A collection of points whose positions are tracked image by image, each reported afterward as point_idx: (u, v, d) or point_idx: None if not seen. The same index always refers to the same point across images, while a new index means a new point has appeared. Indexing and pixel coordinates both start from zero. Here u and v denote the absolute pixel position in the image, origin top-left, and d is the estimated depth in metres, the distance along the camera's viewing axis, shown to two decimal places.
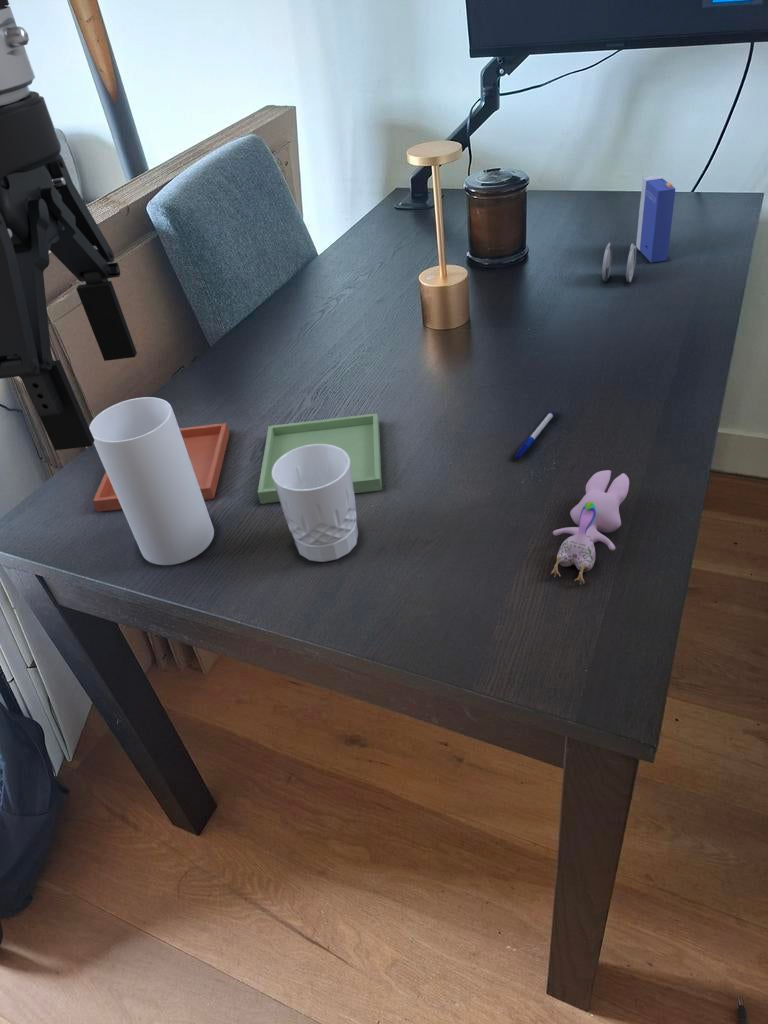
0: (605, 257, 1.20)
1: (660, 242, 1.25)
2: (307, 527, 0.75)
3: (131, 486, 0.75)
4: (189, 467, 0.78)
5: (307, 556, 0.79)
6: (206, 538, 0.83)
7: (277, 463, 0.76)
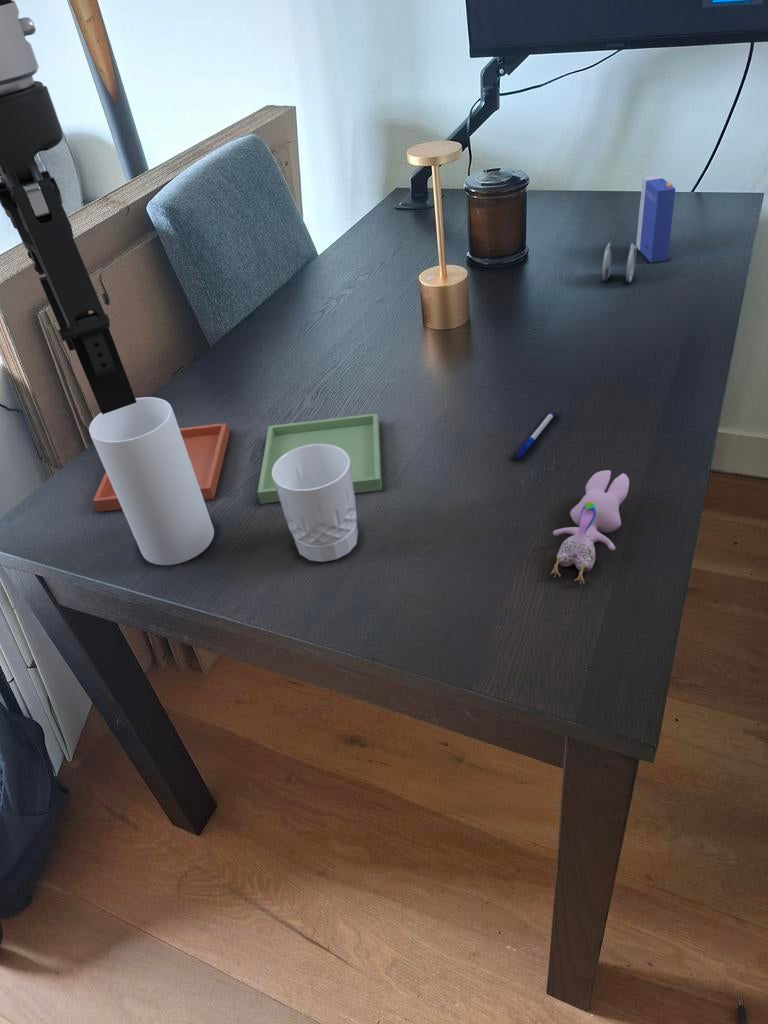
0: (605, 257, 1.20)
1: (660, 242, 1.25)
2: (307, 527, 0.75)
3: (131, 486, 0.75)
4: (189, 467, 0.78)
5: (307, 556, 0.79)
6: (206, 538, 0.83)
7: (277, 463, 0.76)
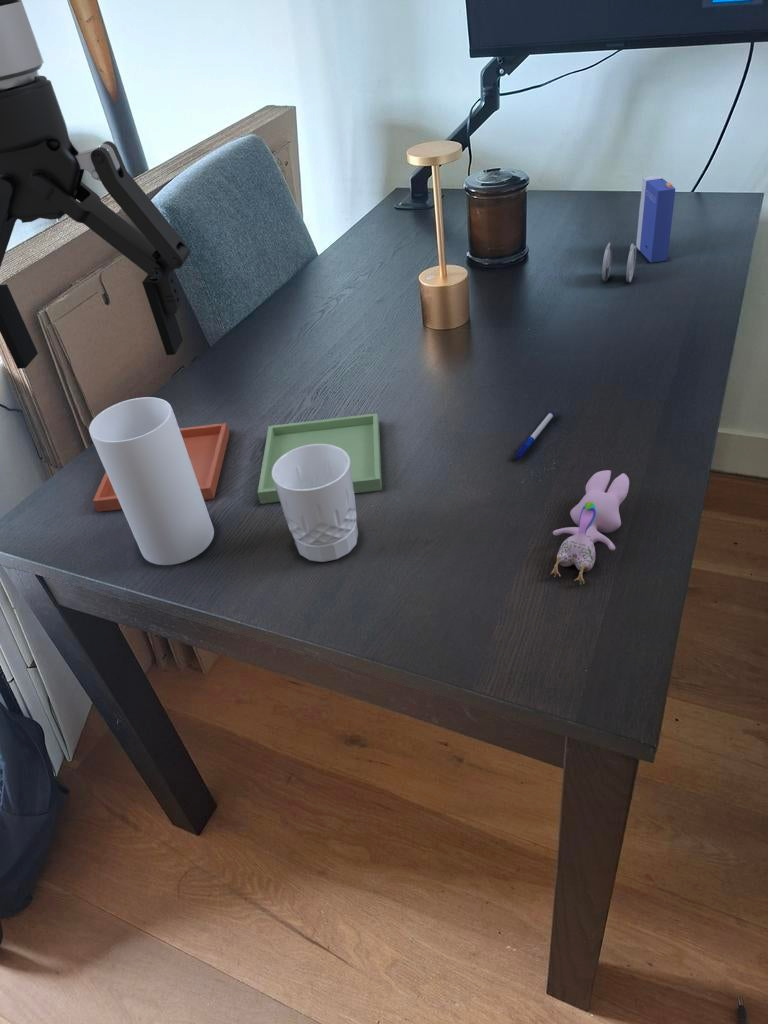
0: (605, 257, 1.20)
1: (660, 242, 1.25)
2: (307, 527, 0.75)
3: (131, 486, 0.75)
4: (189, 467, 0.78)
5: (307, 556, 0.79)
6: (206, 538, 0.83)
7: (277, 463, 0.76)
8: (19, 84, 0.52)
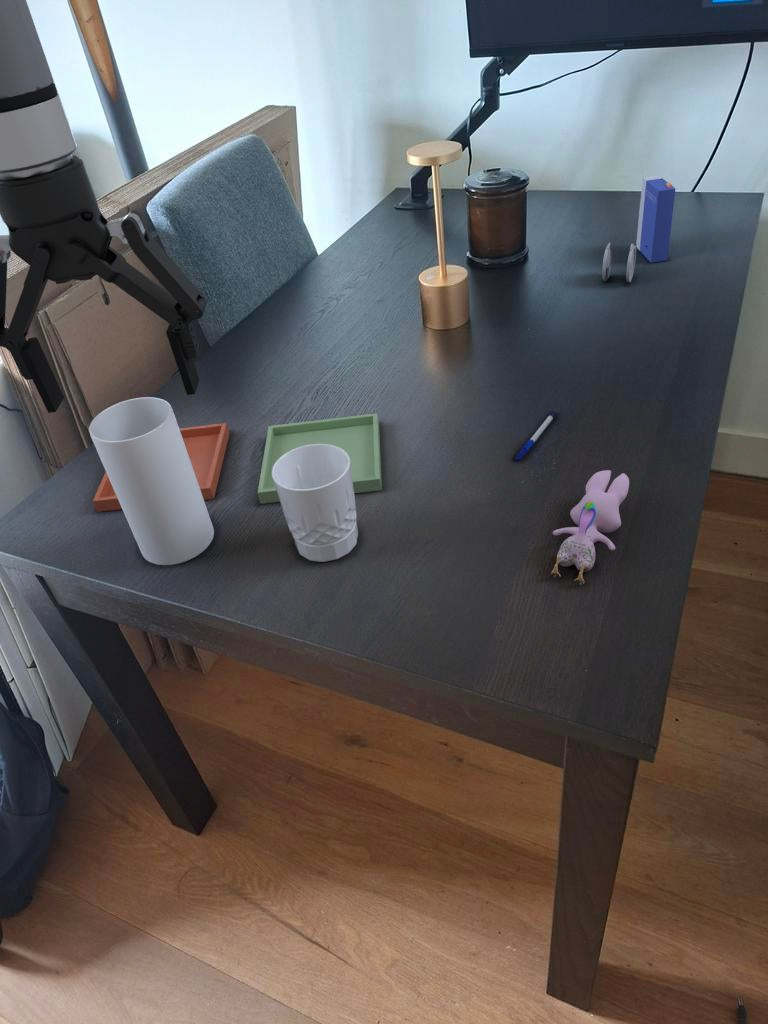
0: (605, 257, 1.20)
1: (660, 242, 1.25)
2: (307, 527, 0.75)
3: (131, 486, 0.75)
4: (189, 467, 0.78)
5: (307, 556, 0.79)
6: (206, 538, 0.83)
7: (277, 463, 0.76)
8: (59, 166, 0.58)
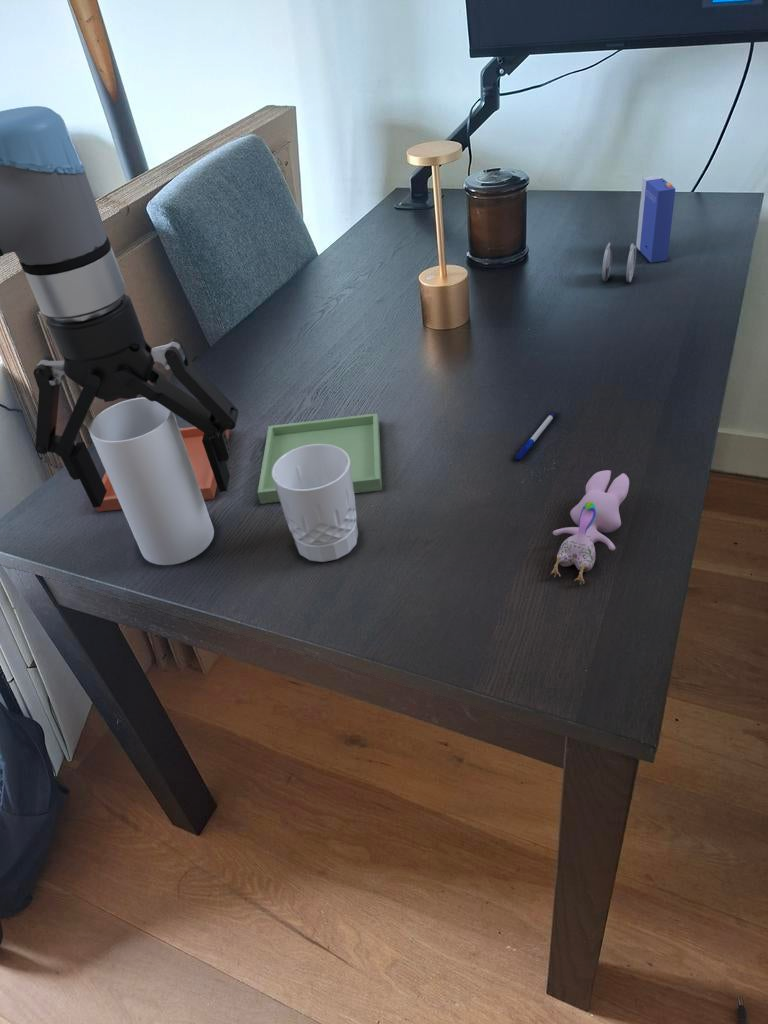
0: (605, 257, 1.20)
1: (660, 242, 1.25)
2: (307, 527, 0.75)
3: (131, 486, 0.75)
4: (189, 467, 0.78)
5: (307, 556, 0.79)
6: (206, 538, 0.83)
7: (277, 463, 0.76)
8: (111, 309, 0.66)
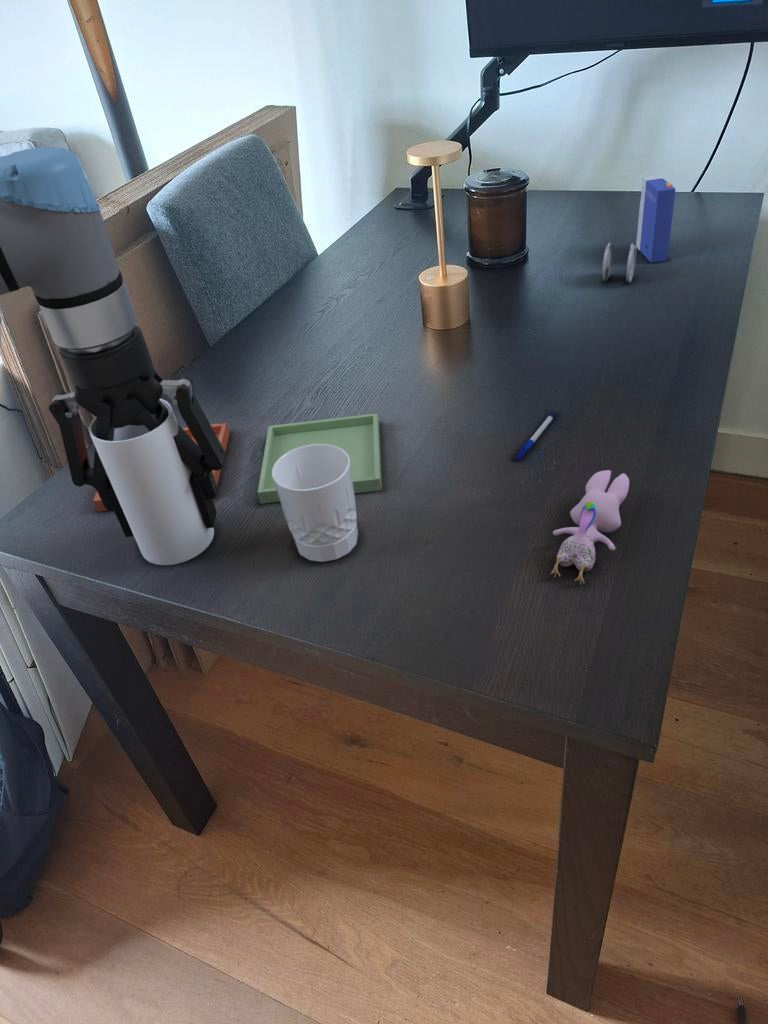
0: (605, 257, 1.20)
1: (660, 242, 1.25)
2: (307, 527, 0.75)
3: (131, 486, 0.75)
4: None
5: (307, 556, 0.79)
6: (206, 538, 0.83)
7: (277, 463, 0.76)
8: (122, 341, 0.68)
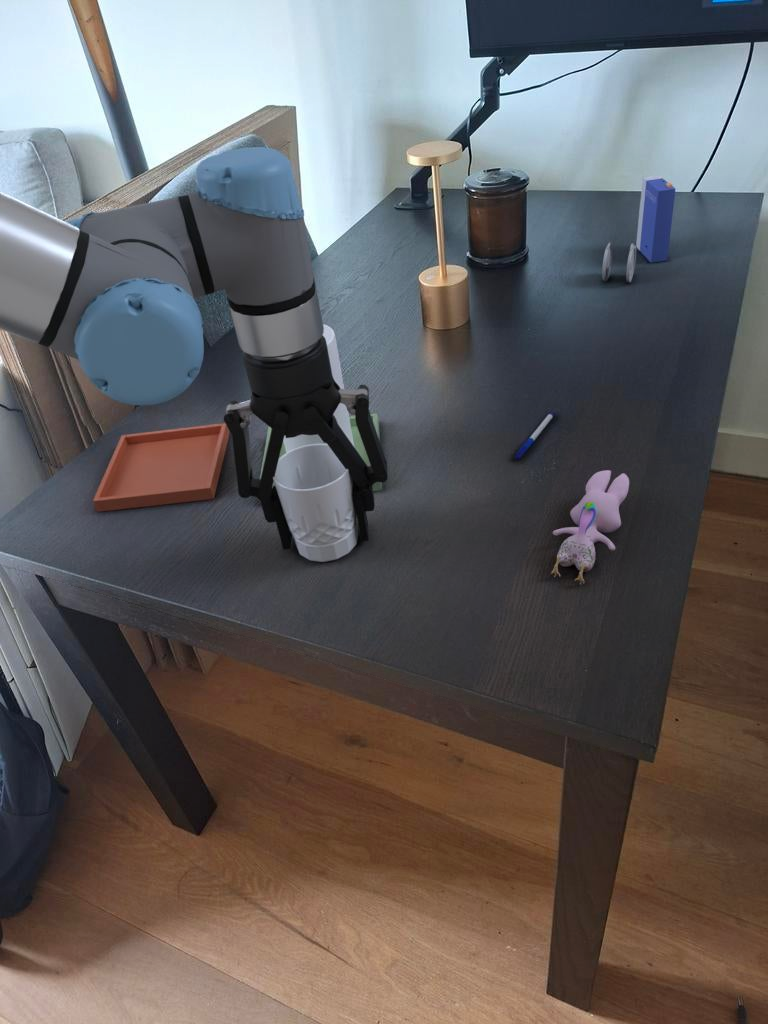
0: (605, 257, 1.20)
1: (660, 242, 1.25)
2: (307, 527, 0.75)
3: None
4: (343, 386, 0.87)
5: (307, 556, 0.79)
6: None
7: None
8: (312, 348, 0.65)
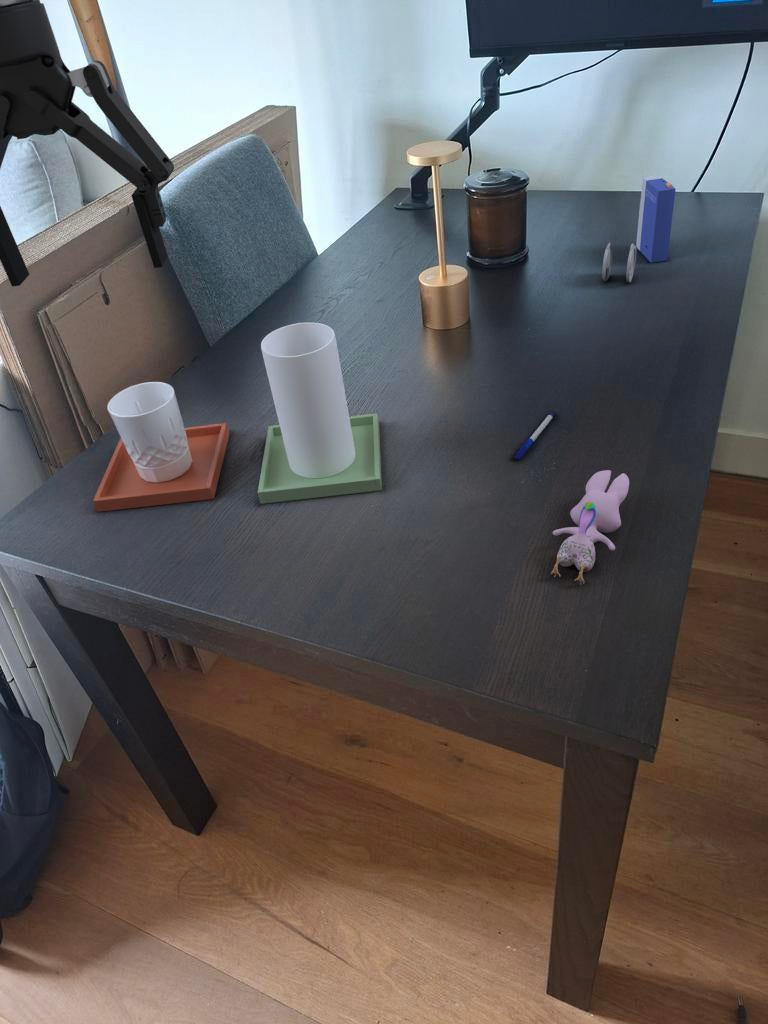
0: (605, 257, 1.20)
1: (660, 242, 1.25)
2: (138, 450, 0.90)
3: (297, 400, 0.83)
4: (343, 386, 0.87)
5: (145, 478, 0.93)
6: (351, 455, 0.91)
7: (114, 397, 0.90)
8: (17, 2, 0.57)
